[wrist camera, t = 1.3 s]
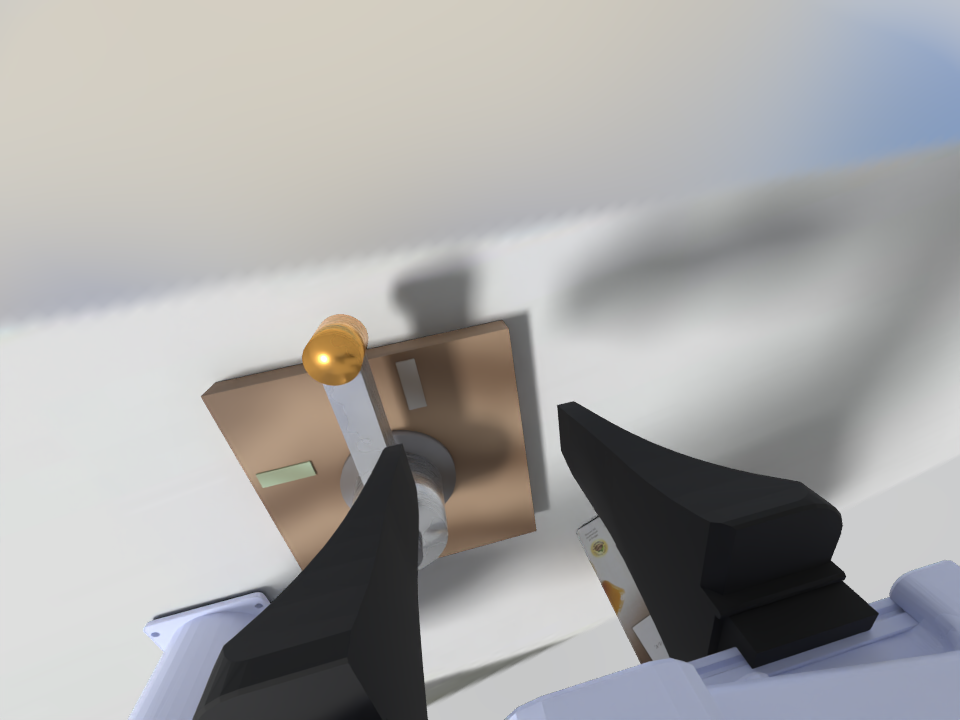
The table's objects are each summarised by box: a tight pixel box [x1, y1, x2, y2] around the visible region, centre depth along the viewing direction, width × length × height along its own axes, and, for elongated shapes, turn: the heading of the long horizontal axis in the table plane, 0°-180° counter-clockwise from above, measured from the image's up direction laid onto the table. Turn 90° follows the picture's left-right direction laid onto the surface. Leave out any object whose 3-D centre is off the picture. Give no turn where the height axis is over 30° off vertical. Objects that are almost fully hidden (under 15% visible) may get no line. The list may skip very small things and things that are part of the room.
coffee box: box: [577, 517, 670, 664], centre depth 24 cm, size 9×6×16 cm
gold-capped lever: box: [302, 314, 448, 570], centre depth 18 cm, size 14×5×5 cm, turn 10°
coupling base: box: [201, 320, 536, 571], centre depth 23 cm, size 16×16×2 cm
